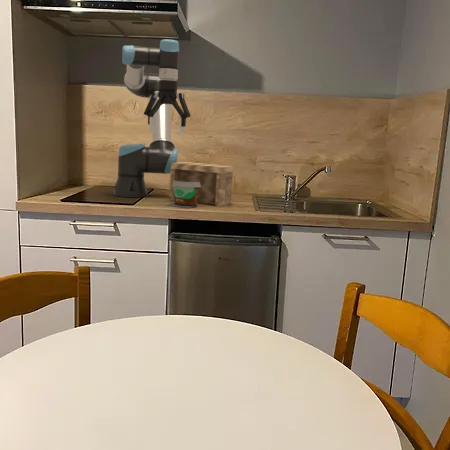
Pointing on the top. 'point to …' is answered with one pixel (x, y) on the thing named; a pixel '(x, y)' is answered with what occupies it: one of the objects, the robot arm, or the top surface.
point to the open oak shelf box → (205, 181)
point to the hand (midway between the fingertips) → (166, 134)
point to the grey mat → (178, 206)
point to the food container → (186, 193)
